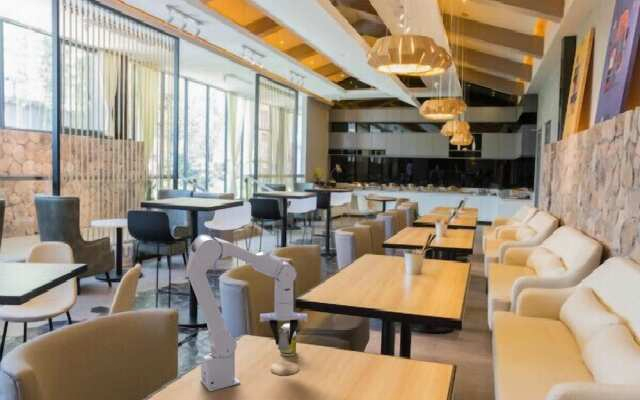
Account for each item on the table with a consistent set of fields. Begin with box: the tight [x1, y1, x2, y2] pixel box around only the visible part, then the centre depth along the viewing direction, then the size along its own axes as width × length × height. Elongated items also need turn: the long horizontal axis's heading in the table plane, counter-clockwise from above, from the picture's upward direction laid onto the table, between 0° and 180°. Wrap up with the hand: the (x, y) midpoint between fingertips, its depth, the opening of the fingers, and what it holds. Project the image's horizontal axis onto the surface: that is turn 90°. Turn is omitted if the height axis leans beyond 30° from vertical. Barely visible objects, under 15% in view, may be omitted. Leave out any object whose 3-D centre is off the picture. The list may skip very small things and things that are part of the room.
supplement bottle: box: [279, 322, 297, 357], centre depth 170 cm, size 5×5×10 cm
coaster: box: [269, 361, 300, 376], centre depth 158 cm, size 9×9×1 cm
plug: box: [277, 325, 289, 352], centre depth 156 cm, size 3×3×7 cm
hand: (283, 343), depth 156 cm, fingers closed on plug, 3 cm apart
